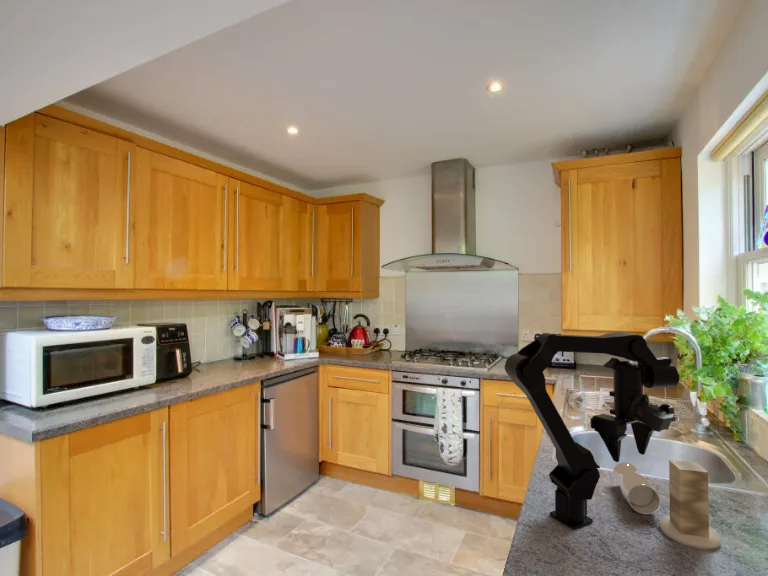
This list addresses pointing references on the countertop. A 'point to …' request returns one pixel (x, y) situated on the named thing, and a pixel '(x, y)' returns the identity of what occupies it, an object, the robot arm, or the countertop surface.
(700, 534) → the wooden block
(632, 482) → the beer glass
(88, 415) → the countertop surface
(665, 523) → the saucer
